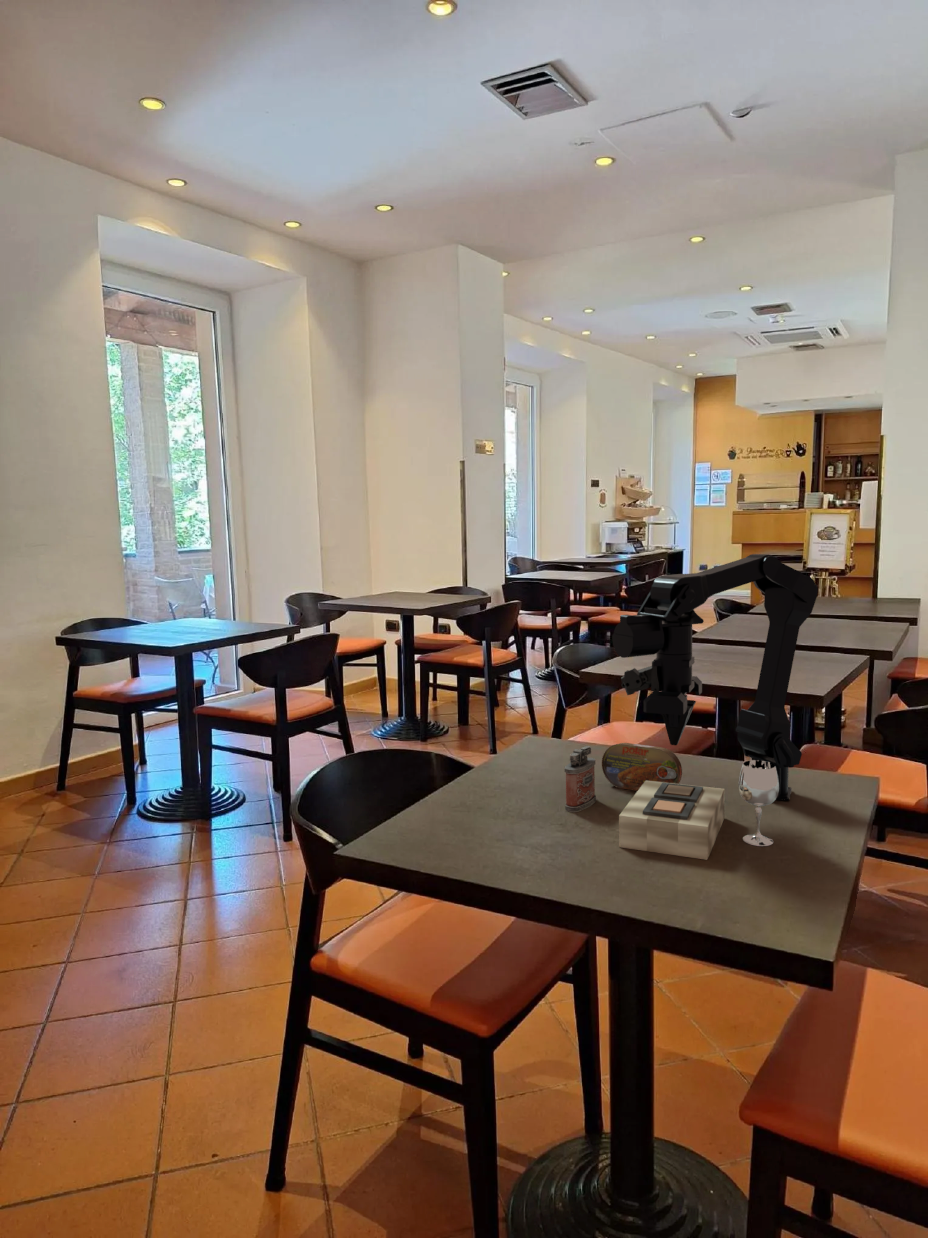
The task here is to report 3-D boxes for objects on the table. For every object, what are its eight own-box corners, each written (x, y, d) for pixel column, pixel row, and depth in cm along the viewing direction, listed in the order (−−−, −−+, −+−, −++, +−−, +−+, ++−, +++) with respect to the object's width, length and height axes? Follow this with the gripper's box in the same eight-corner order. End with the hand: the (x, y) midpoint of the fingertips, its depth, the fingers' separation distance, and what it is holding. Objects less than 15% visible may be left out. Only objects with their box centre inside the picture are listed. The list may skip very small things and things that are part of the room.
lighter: (577, 813, 139) (577, 756, 137) (560, 809, 141) (559, 753, 139) (600, 800, 145) (599, 745, 144) (583, 796, 147) (582, 742, 146)
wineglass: (753, 850, 121) (754, 772, 120) (730, 836, 127) (731, 761, 125) (786, 845, 123) (787, 767, 121) (762, 831, 128) (763, 757, 127)
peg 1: (668, 815, 135) (668, 784, 135) (693, 818, 133) (693, 787, 133) (663, 823, 132) (663, 792, 131) (689, 826, 130) (689, 795, 129)
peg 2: (658, 832, 128) (658, 800, 127) (684, 835, 126) (684, 803, 126) (653, 841, 124) (653, 808, 124) (679, 844, 123) (679, 811, 122)
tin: (601, 785, 153) (600, 741, 152) (608, 780, 156) (608, 737, 155) (677, 799, 144) (677, 752, 143) (684, 794, 147) (684, 748, 146)
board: (645, 808, 140) (645, 777, 139) (724, 818, 134) (724, 786, 134) (619, 847, 124) (619, 812, 123) (707, 859, 118) (707, 823, 118)
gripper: (638, 642, 145) (639, 727, 147) (611, 659, 129) (611, 755, 130) (702, 644, 141) (702, 732, 142) (682, 662, 124) (682, 762, 126)
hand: (674, 744), depth 135 cm, fingers closed
